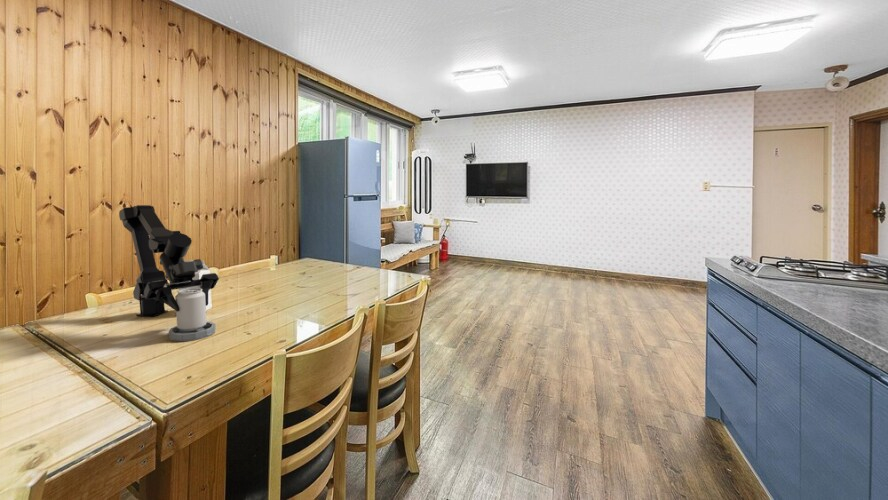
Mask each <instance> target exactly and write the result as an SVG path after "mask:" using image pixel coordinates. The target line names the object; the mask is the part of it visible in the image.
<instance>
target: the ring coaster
mask: <svg viewBox="0 0 888 500" xmlns="http://www.w3.org/2000/svg"><path fill="white" fill-rule="evenodd" d="M215 333H216V323H214V322H213V321H207V323H206V325H205V326H204V327H203V328H201V329H198V330H193V331H182V330H181V329H179V328H178V327H177V325H176V326H173V327H171V328H170V329H169V330H168V337H169V339H170V340H171V341H173V342H191V341H192V342H193V341H197V340H201V339H205V338H208V337H211V336H212V335H214V334H215Z"/></svg>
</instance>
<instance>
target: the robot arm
mask: <svg viewBox="0 0 888 500" xmlns="http://www.w3.org/2000/svg"><path fill="white" fill-rule="evenodd" d="M155 211H156V210H155V208H154V206H153V205H150V204H145V205H142V204H137V205H134V206H130V207H129V206H124V207H123V208H122V209H120V210H119V212H118V218H119V220H120V221H122V222H121V223H122V226H123V227H124V228H125V229H126V230H128V232H129V233H130V234H131V238H132V242H133V246H134V250H135V254H136V259H137V263H138V267H139V268H138V269H139V271H140V272H139V274H138V276H137V278H136V284H135V286H134V289H133V292H132V295H133V298H134V300H137V301H139V310H140V311H139V313H136V316H137V317H146V318H148V317H150V318H153V317H157V316H159V315H162V314H166V313H168V312H169V310H167V309H165V304H166V305H167V306H169V307H170V308H171V309H173V310H174V311H175V312H176V311H177V312H178V311H179V307H178V304H177V302H176V300H175V297H174V295H173V292H172V291H173V290H179V289H182V288H188V287H194V286H199V288H201V289H202V292H204V293H205V301H206V306H207V305H208V291H209V290H210V289H211V290H212V289H214V288H215V286H217V284H218V282H219V280H220V277H219V276H218V274H217V273H215V272H210V274H203V275H202V277H201V279H198V280H193V279H192V278H194V277H195V272H198V270H201V269H202V268H203V264H202V261H203V260H201V258H198V259H193V261H192V262H185V261H184V260H185V259H184V257H186V255H187V253H188V251H189V250H190V247H191V244H192V242H193V241H192V238H191V237H189V236H188V235H186V234H184V233H182V232H181V231H180V230H169V229H167V228H166V226H165V225H164V224H163V222H162V220H161V219H160V218H159V216H158V214H157V213H156V212H155ZM154 254H160V255H159V257H158V258H159V264H160V265H161V266H162V268H163V270H160V268H158V267H157V263H156V260H155V259H156V258H155V256H154ZM167 279H168V280H167Z"/></svg>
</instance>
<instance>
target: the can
mask: <svg viewBox="0 0 888 500" xmlns="http://www.w3.org/2000/svg"><path fill="white" fill-rule="evenodd" d="M174 298H175V300H176V302H177V304H178V307H179V311H178V312H177V311H175V313H176V314H175V315H176V326H177V327H178V328H179V329H181V330H182V331H193V330H198V329H201V328H203V327H204V326H205V325H206V323H207V322H208V321H207V320H208V319H207V311H206V301H205V293H204V292H202V289H201V288H188V289H182V290H179V289H178V290H177V294H176V295H175V297H174Z"/></svg>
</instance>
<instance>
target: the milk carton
mask: <svg viewBox="0 0 888 500" xmlns="http://www.w3.org/2000/svg"><path fill="white" fill-rule="evenodd" d="M184 261H185V262H192V261H194V259H193V260H185V259H184ZM201 261H202V264H203V268H202V269H201V270H198V272H195V277H194V278H192V279H193V280H198V279H201V277H202V275H203V274H210V273H211V269H210V268H209V267H208V266H207V265H206V264H205V260H201ZM188 288H199V286H194V287H188ZM188 288H182V289H188ZM182 289H178V291H179V290H182ZM212 304H213V303H212V289H210V290H209V291H208V305H207V306H206V312H207V311H209V310H211V309H213V307H212Z"/></svg>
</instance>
